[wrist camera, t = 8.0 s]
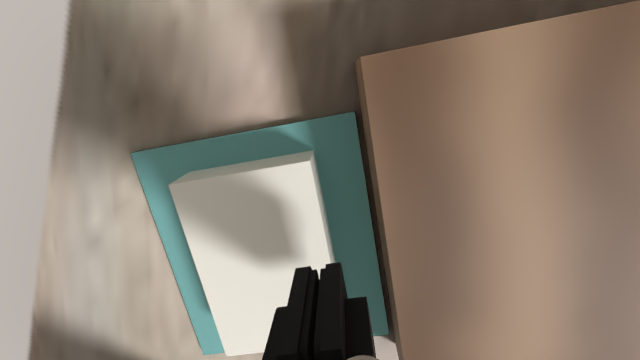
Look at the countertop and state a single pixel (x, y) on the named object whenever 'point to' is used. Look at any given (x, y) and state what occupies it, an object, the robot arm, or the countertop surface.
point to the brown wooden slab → (511, 189)
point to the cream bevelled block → (253, 239)
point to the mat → (315, 134)
